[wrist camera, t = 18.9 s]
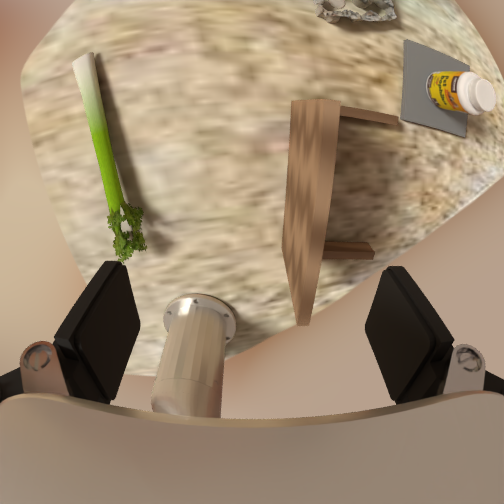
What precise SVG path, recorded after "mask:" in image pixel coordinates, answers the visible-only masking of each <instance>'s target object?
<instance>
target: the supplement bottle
mask: <svg viewBox="0 0 504 504" xmlns="http://www.w3.org/2000/svg"><path fill="white" fill-rule="evenodd" d="M426 90H427V94H428V97H429V98H430V100H431V101H432V103H433V104H434V105H436V106H437V107H439V108H442V109H447V110H452V111H458V112H462V113H467V114H471V115H480V114H482V113H483V112H484V111H487V112H489V111H492V110H493V109H494V107H495V104H496V94H495V90H494V88H493V86H492V84H491V83H490V82H489V81H488V80H486V79H481V78H480V77H479V76H478V75H477V74H475V73H473V72H463V71H438V72H433V73H432V74H430V75H429V77H428V79H427V82H426Z"/></svg>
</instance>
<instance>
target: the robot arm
mask: <svg viewBox="0 0 504 504" xmlns="http://www.w3.org/2000/svg"><path fill="white" fill-rule="evenodd" d="M163 322H164V326H165V328H166V330H167V332H168V335H167V339H166V342H165V346H164V349H163V353H162V357H161V360H160V364H159V368H158V371H157V375H156V379H155V383H154V387H153V391H152V396H151V405H152V410H153V412H149V411H143V410H137V409H131V408H125V407H119V406H113V405H110V401H111V400H114V399H115V397H116V395H117V392H118V389H119V386H120V383H121V380H122V377H123V374H124V371H125V368H126V366H127V363H128V360H129V357H130V355H131V352H132V349H133V346H134V344H135V341H136V338H137V336H138V333H139V331H140V319H139V315H138V311H137V308H136V304H135V300H134V296H133V292H132V288H131V284H130V280H129V276H128V272H127V268H126V266H125V265H122V263H121V262H120V261H105V262H104V263H103V264H102V266H101V267H100V269H99V270H98V271H97V273H96V274H95V275H94V277H93V278H92V280H91V281H90V282H89V284H88V285H87V287H86V288H85V290H84V291H83V292H82V294H81V296H80V297H79V298H78V300H77V301H76V303H75V304H74V306H73V307H72V309H71V310H70V312H69V314H68V315H67V316H66V318H65V320H64V321H63V323H62V324H61V326H60V328H59V329H58V331H57V332H56V334H55V336H54V338H55V341H54V342H53V344H51V343H50V342H47V341H39V342H35V343H33V344H31V345H29V346H28V347H27V348H26V349H25V350H24V351H23V353H22V355H21V358H20V367H19V368H17V369H15V370H13V371H11V372H9V373H7V374H4V375H2V376H0V504H504V380H503V379H501V378H499V377H498V376H496V375H494V374H491V373H490V372H488V371H486V370H485V360H484V358H483V356H482V354H481V353H480V352H479V351H478V350H477V349H476V348H474V347H472V346H470V345H467V344H460V345H458V346H456V347H455V348H453V346H452V343H453V341H454V338H453V337H452V335H451V334H450V332H449V330H448V329H447V327H446V326H445V324H444V323H443V321H442V320H441V318H440V317H439V315H438V314H437V312H436V311H435V309H434V308H433V306H432V305H431V304H430V302H429V301H428V299H427V298H426V296H425V295H424V294H423V293H422V291H421V290H420V288H419V287H418V285H417V284H416V283H415V281H414V280H413V279H412V277H411V276H410V275H409V273H408V272H407V271H406V269H405V268H404V267H402V266H389V267H388V268H387V269H386V270H384V271H383V272H382V275H381V278H380V282H379V285H378V288H377V291H376V294H375V297H374V300H373V303H372V306H371V309H370V312H369V315H368V318H367V321H366V324H365V332H366V335H367V337H368V340H369V342H370V345H371V347H372V350H373V352H374V355H375V357H376V360H377V363H378V365H379V368H380V370H381V373H382V375H383V378H384V381H385V383H386V386H387V389H388V392H389V394H390V397H391V399H392V400H393V401H395V402H396V405H393V406H388V407H383V408H377V409H371V410H365V411H359V412H352V413H344V414H336V415H327V416H315V417H302V418H285V419H223V418H221V402H222V385H223V372H224V359H225V345H226V344H227V343H228V342H229V341H231V339H232V338H233V337H234V334H235V332H236V319H235V316H234V314H233V312H232V311H231V310H230V308H229V307H228V306H227V305H225V304H224V303H223V302H221V301H219V300H218V299H216V298H213V297H210V296H207V295H202V294H188V295H184V296H180V297H178V298H176V299H174V300H173V301H172V302H170V304H169V305H168V306H167V308H166V310H165V313H164V318H163Z"/></svg>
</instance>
